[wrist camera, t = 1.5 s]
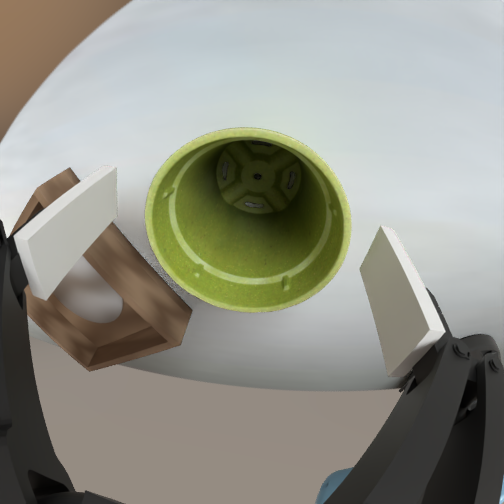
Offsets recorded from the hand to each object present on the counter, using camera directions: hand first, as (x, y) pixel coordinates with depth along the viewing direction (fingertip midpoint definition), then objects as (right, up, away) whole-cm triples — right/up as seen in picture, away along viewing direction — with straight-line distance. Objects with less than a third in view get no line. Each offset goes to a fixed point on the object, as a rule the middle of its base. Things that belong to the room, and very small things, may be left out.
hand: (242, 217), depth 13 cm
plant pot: (+1, +4, +7) cm, 8 cm away
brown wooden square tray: (-18, -5, +14) cm, 23 cm away
